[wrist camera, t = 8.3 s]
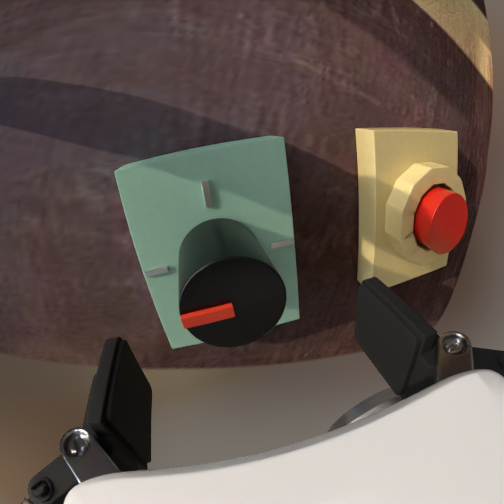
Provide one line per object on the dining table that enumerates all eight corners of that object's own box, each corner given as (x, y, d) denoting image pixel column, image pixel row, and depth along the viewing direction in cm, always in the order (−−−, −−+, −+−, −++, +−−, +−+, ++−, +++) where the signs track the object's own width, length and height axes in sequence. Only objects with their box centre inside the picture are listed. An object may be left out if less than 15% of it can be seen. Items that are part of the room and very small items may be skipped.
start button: (448, 238, 19) (463, 247, 17) (410, 250, 18) (425, 261, 17) (453, 183, 17) (470, 190, 15) (414, 189, 16) (432, 196, 15)
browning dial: (252, 209, 16) (283, 247, 11) (264, 281, 18) (293, 336, 13) (169, 229, 15) (163, 277, 10) (190, 299, 17) (196, 362, 12)
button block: (431, 255, 24) (459, 274, 21) (356, 280, 23) (383, 306, 19) (439, 128, 19) (474, 134, 15) (354, 128, 18) (390, 132, 14)
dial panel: (288, 299, 22) (300, 320, 20) (172, 326, 21) (172, 350, 18) (270, 135, 17) (285, 137, 14) (123, 165, 15) (113, 171, 13)
